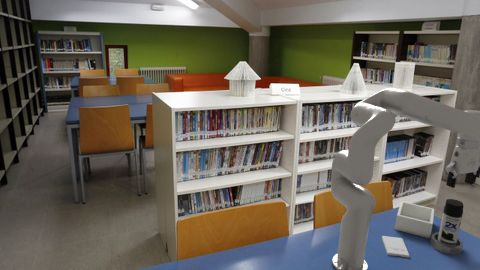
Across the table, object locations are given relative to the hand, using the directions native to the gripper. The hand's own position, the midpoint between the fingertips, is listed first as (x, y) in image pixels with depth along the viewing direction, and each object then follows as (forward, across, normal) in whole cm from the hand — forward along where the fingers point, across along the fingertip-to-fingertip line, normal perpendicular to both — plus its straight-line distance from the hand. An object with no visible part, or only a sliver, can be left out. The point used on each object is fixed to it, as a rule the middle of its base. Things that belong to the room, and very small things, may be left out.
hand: (459, 184), depth 138 cm
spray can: (+28, -1, 0) cm, 28 cm away
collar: (+27, -1, 0) cm, 27 cm away
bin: (+27, -1, +17) cm, 32 cm away
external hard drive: (+28, -21, +6) cm, 36 cm away
